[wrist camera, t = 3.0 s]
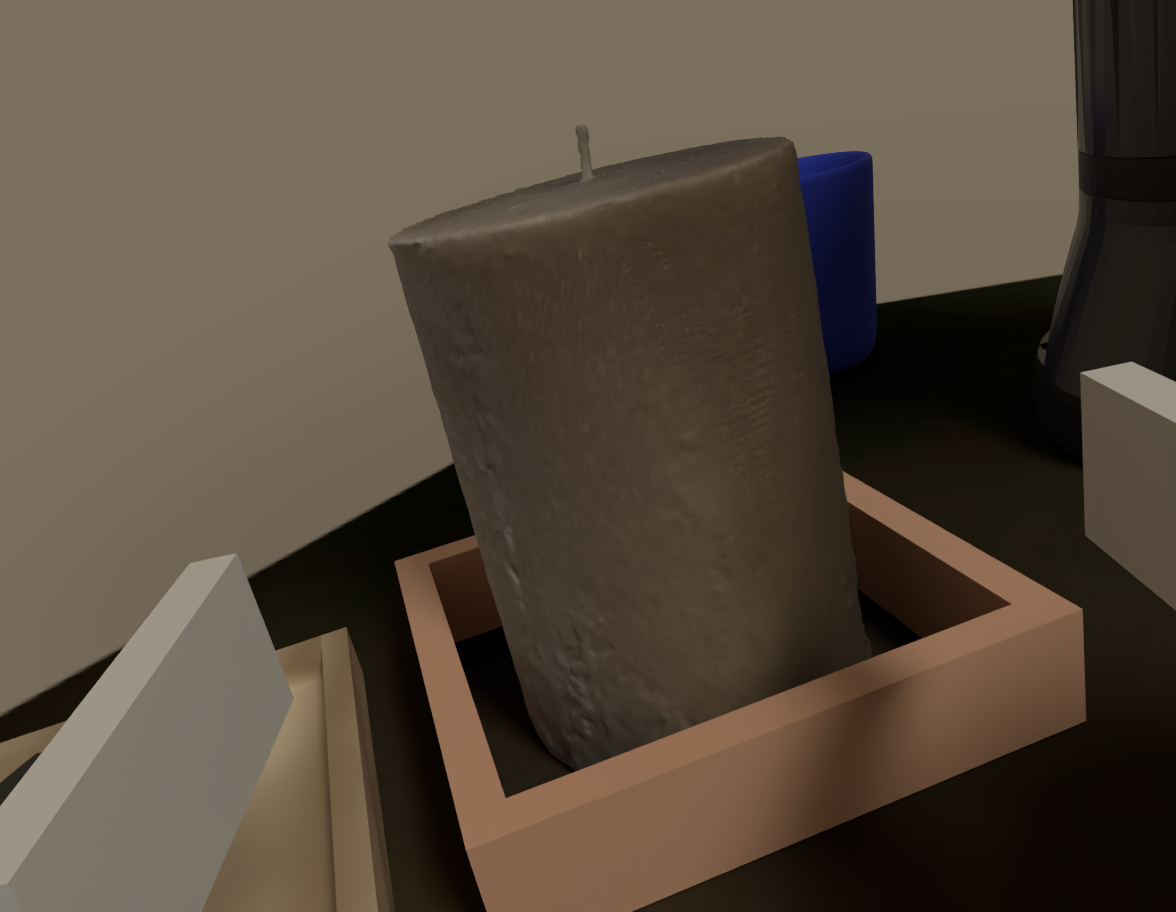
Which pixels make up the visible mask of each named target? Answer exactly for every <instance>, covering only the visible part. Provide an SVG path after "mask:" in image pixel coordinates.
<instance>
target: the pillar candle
mask: <svg viewBox="0 0 1176 912" xmlns="http://www.w3.org/2000/svg"><path fill="white" fill-rule="evenodd" d="M576 134H577V137H578V150H579V152H580V155H581V169H582V172H579V173H575V174H571V175H567V176H565V177H562V178H559V179H555V180H550V181H547V182H544V183H540V184H535V185H533V186H530V187H526V188H520V189H516V190H515V191H514V192H512V193H506V194H501V195H498V196H496V197H494V198H490V199H486V200H482V201H479V202H478V203H475V204H471V205H468V206H465V207H461V208H458V209H455V210H450V211H447V212H445V213H442V214H440V215H436V216H434V217H433V218H429V219H425V220H424V221H421V222H418V223H416V224H415V225H411V226H409V227H407V228H404V229H403V230H402V231H401V232H399V233H397V234H395V235H394V236H392V237H391V238H390V241H389V243H388V246H389V248H390V249H391V251H392V253H393V255H394V257H395V261H396V265H397V270H398V273H399V277H400V280H401V283H402V287H403V291H404V295H405V299H406V302H407V306H408V309H409V312H410V316H411V318H412V321H413V324H414V326H415V330H416V333H417V336H418V340H419V343H420V346H421V349H422V353H423V356H424V360H425V364H426V367H427V371H428V375H429V378H430V382H431V386H432V390H433V393H434V396H435V398H436V401H437V404H438V407H439V410H440V413H441V418H442V422H443V426H444V429H445V432H446V435H447V438H448V442H449V446H450V449H451V453H452V457H453V461H454V464H455V467H456V471H457V475H458V478H459V482H460V485H461V488H462V492H463V494H464V497H465V500H466V504H467V507H468V510H469V514H470V518H471V522H472V525H473V529H474V532H475V536H476V540H477V543H478V546H479V549H480V552H481V555H482V559H483V561H484V565H485V571H486V576H487V578H488V581H489V584H490V587H491V589H492V593H493V597H494V600H495V603H496V606H497V609H498V612H499V615H500V618H501V621H502V625H503V629H504V633H505V636H506V640H507V643H508V646H509V649H510V652H511V656H512V659H513V663H514V667H515V670H516V673H517V675H518V678H519V681H520V684H521V688H522V691H523V696H524V700H525V704H526V708H527V711H528V713H529V716H530V718H531V720H532V722H533V725H534V727H535V730H536V732H537V734H538V736H539V737H540V739H541V740H542V742H543V744H544V745H545V746H546V748H547V749H548V750H549V752H550V753H551V754H552V755H553V756H555V758H556V759H558V760H560V761H561V762H563V763H564V764H566V765H567V766H570V767H571V768H572V769H574V770H575V771H579V770H581V769H584V768H586V767H589V766H592V765H594V764H597V763H600V762H602V761H605V760H607V759H610V758H613V757H615V756H618V755H620V754H623V753H626V752H628V751H631V750H633V749H636V748H639V747H641V746H644V745H646V744H649V743H652V742H654V741H657V740H659V739H662V738H665V737H667V736H670V735H672V734H675V733H678V732H680V731H683V730H685V729H688V728H691V727H693V726H696V725H698V724H701V723H704V722H706V721H709V720H712V719H714V718H717V717H719V716H722V715H725V714H727V713H730V712H732V711H735V710H738V709H740V708H743V707H745V706H748V705H751V704H753V703H756V702H758V701H761V700H764V699H766V698H769V697H771V696H774V695H777V694H779V693H782V692H784V691H787V690H790V689H792V688H795V687H797V686H800V685H803V684H805V683H808V682H811V681H813V680H816V679H818V678H821V677H824V676H826V675H829V674H831V673H834V672H837V671H839V670H842V669H844V668H847V667H850V666H852V665H855V664H857V663H860V662H863V661H865V660H868V659H870V658H872V649H871V645H870V641H869V639H868V638H867V637H866V635H865V633H864V630H865V628H864V625H863V622H862V615H861V608H860V604H859V599H858V591H857V576H858V575H857V573H856V557H855V555H854V553H853V548H852V544H851V535H850V525H849V515H848V504H847V498H846V493H845V488H844V476H843V471H842V468H841V465H840V458H839V448H838V444H837V440H836V432H835V417H834V411H833V400H832V395H831V388H830V377H829V371H828V364H827V358H826V353H825V349H824V343H823V335H822V329H821V321H820V311H819V305H818V294H817V286H816V279H815V274H814V269H813V262H812V255H811V248H810V242H809V234H808V227H807V221H806V214H805V207H804V202H803V196H802V192H801V188H800V183H799V165H798V159H797V154H796V150H795V147H794V144H793V142H792V141H790V140H788V139H786V138H784V137H774V138H754V139H743V140H735V141H728V142H722V143H717V144H712V145H705V146H699V147H694V148H689V149H684V150H680V151H675V152H670V153H664V154H660V155H655V156H650V157H645V158H641V159H635V160H631V161H628V162H624V163H618V164H615V165H608V166H604V167H600V168H597V169H594V170H592V167H591V158H590V151H589V147H588V141H589V135H588V129H587V127H586V126H585V125H577V126H576Z"/></svg>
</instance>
